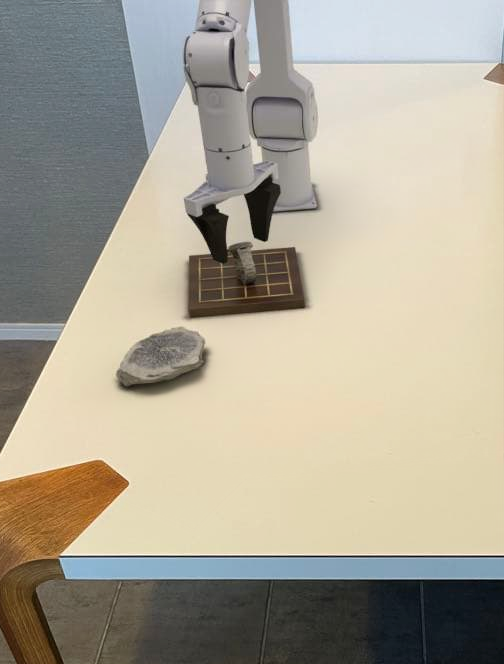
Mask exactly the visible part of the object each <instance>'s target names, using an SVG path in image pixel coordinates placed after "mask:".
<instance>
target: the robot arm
mask: <svg viewBox="0 0 504 664" xmlns="http://www.w3.org/2000/svg"><path fill="white" fill-rule="evenodd" d="M252 1H253V9H254V19H255V28H256V29H255V30H256V38H257V49H258V50H257V51H258V59H259V69H260V72H259V73H258V74H257V75H255V76H254V77H253V78H252V79H251V80H250V82H249V84H248V81H249V77H250V56H249V55H250V53H249V52H250V41H249V39H248V28H249V21H250V15H251V8H252ZM289 4H290V3H289V0H199V4H198V9H197V15H196V22H195V27H194V30H193V31H192V33H191V34H190V35H187V36H186V37H185V38H184V41H183V45H182V63H183V66H182V67H183V68H182V69H183V73H184V78H185V81H186V83H187V85H188V87H189V90H190V94H191V101H192V102H193V105H194V106H195V107H197V113H198V118H199V125H200V131H201V139H202V144H203V151H204V158H205V164H206V171H207V173H206V174H205V175H204V176H205V181H204V182H202V184H201V185H199V186H198V187H197V188H196V189H195V190H193V192H191V193H190V194H188V195H186V196H183V202H184V204H183V205H184V208H185V209H184V210H185V213H186V215H187V216H188V218H190V220H191V221H192V223H193V224H194V225H195V226H196V228H197V230H198V231H199V233H200V234H201V236H202V237H203V240H204V241H205V243H206V245H207V248H208V250H209V254H211V255H212V258H213V260H215V261H217V262H220V263H222V264H224V263H226V262H227V260H228V252H227V249H228V244H227V229H228V221H229V217H230V216H229V215H228V214H225V213H223V212H220V208H217V205H218V204H221V203H223V202H226V201H227V200H230V199H232V198H234V197H239V196H243V197H244V199H245V203H246V206H247V211H248V213H249V215H248V216H249V221H250V228H251V232H252V236H253V239H255V240H258V241H261V242H264V243H266V242H268V241H269V237H270V230H271V223H272V217H273V214H274V212H285V211H297V210H309V209H310V210H311V209H316V208H317V201H316V196H315V192H314V189H313V184H312V177H311V176H312V175H311V163H310V161H311V160H310V150H309V149H310V148H309V147H310V146H309V143H312V142H313V140H314V139H315V138H316V136H317V134H318V126H319V111H318V103H317V100H316V96H315V87H314V86H313V85H314V84H313V83H312V81H310V80H309V79H307V78H306V77H305V76H304V75H303V74H301V73H300V72H298V70H296V69H295V68H294V57H293V44H292V30H291V18H290V5H289ZM247 84H248V85H247ZM246 87H247V88H246ZM251 139H253V140H254V141H256V146H257V147H260V151H261V160H262V161H261V162H257V163H254V159H253V151H252V150H253V149H252V141H251Z"/></svg>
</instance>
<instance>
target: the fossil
mask: <svg viewBox="0 0 504 664" xmlns="http://www.w3.org/2000/svg"><path fill="white" fill-rule="evenodd" d="M205 345H206V339H205V337H204V336H202V335H201V334H200V333H199V332H198V331H195V330H190V329H188V328H186V327H185V326H177V327H171V328H170V329H165V330H164V331H162V332H157V333H152V334H150V335H149V336H148V337H146V338H144V339H140V340H139V341H137V342H135V343H134V344H133V345H132V346H131V347H130V348H129V350H128V351H127V352H126V353H125V354H124V357H123V359H122V361H121V362H120V365H119V367H118V369H117V370H116V374H115V376H116V378H117V379H118V380H119V381H120V383H122V384H123V386H125V387H130V386H132V385H139V384H140V385H141V384H155V383H158V382H167V381H171V380H173V379H176V378H177V377H179V376H181V375H184V374H187V373H189V372H191V371H195V370H197V369H198V368H199V367H201V366H203V364H204V360H203V354H204V353H205V352H204V351H205Z"/></svg>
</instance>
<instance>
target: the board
mask: <svg viewBox="0 0 504 664" xmlns="http://www.w3.org/2000/svg"><path fill="white" fill-rule="evenodd" d="M251 254H252V259H253V262H254V265H255V269H256V281H255V282H252V283H247V284H244V283H243V282H242V281H241V280H240V278H239V275H238V273H237V271H236V266H235V263H234V259H233V255H232V253H231V252H228V260H227V262H226V263H224V264H222V263H220V262H217V261H215V260H213V258H212V255H211V253H205V254H193V255H192V254H191V255H190V254H189V255H188V297H187V298H188V301H187V303H188V305H187V308H188V309H187V310H188V315H189V318H197V317H210V316H212V317H213V316H221V315H223V316H224V315H233V314H234V315H235V314H243V313H244V314H245V313H256V312H267V311H279V310H289V309H290V310H291V309H302V308H306V301H305V294H304V289H303V288H304V287H303V284H302V278H301V271H300V267H299V262H298V256H297V255H298V254H297V250H296V246H292V247H291V246H290V247H289V246H287V247H278V248H266V249H265V248H264V249H254V250H253V249H251Z"/></svg>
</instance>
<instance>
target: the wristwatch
mask: <svg viewBox="0 0 504 664" xmlns="http://www.w3.org/2000/svg"><path fill="white" fill-rule="evenodd" d="M253 245H254V244H253V243H252V242H251V241H242V242H238V243H234V244H231V245H229V246H228V247H227V252H231V253H232V255H233V259H234V263H235V266H236V271H237V273H238V275H239V278H240V280H241V281H242V282H243V283H244V284H247V283H252V282H255V281H256V269H255V265H254V262H253V259H252V254H251V250H252V248H254V246H253Z"/></svg>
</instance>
